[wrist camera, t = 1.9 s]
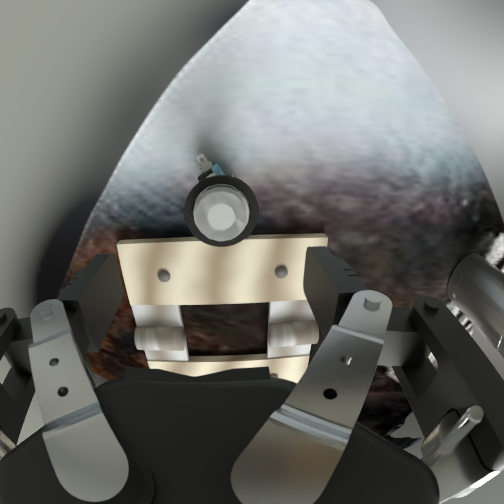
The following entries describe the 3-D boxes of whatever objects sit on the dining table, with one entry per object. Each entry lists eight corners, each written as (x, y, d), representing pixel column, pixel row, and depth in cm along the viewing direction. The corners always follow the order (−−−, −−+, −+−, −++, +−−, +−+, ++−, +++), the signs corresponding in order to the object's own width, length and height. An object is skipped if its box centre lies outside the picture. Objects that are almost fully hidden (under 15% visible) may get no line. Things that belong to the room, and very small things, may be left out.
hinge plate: (324, 233, 31) (334, 245, 28) (301, 383, 43) (305, 398, 40) (120, 240, 30) (110, 252, 27) (160, 388, 41) (157, 403, 38)
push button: (178, 168, 27) (155, 191, 18) (223, 138, 26) (221, 146, 17) (215, 220, 30) (211, 265, 21) (258, 193, 29) (274, 227, 20)
